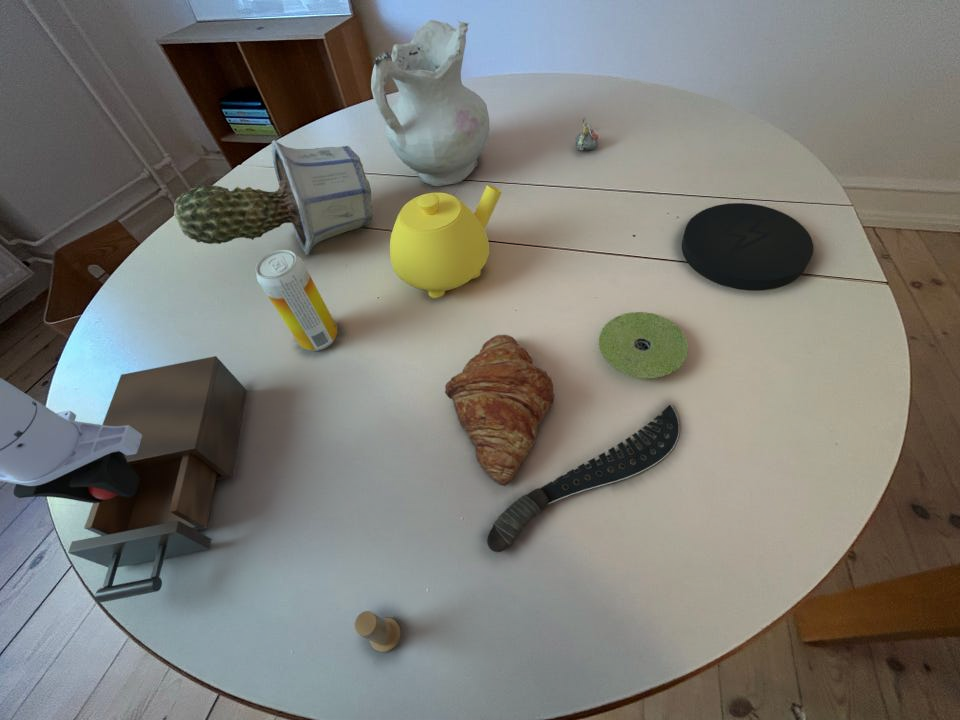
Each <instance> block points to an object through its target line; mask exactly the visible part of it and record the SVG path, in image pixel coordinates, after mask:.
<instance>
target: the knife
mask: <svg viewBox="0 0 960 720" xmlns="http://www.w3.org/2000/svg"><path fill="white" fill-rule="evenodd" d="M653 420H655V421H651V420H650V421H649V422H648V423H647V424H646V425H644V426H643V427H642V429H641V428H640V429H639V430H637V432H634V433H633V434H632V435H631V436H628V437H627V438H625V439H624V440H625V442H626V443H627V445H625V443H624V442H623V441H620V442H619V443H617V445H616V446H617V448H618V449H617V450H616V448H615V446H612V447H610V448H609V449H608V450H607V451H608V454H606V453H605V451H603V452H602V453H600V454H598V458H597V459H596V458H595V457H593V458H591V459H589V460H587V462H588V463H586V464H585V463H584V462H583V463H582V464H580V465H578V466H577V467H576V468H572V469H570V470H569V471H567V472H566V473H564V474H562V475H560V476H558V477H556V478H555V480H553V481H550V482H548V483H546V484H545V485H543V486H541V487H538V488H535V489H533V490H532V491H530V492H529V493H527V494H523V496H521V497H519V498H518V499H517V500H515V501H514V502H512V504H510V505H509V507H507V508H506V509H505V510H504V511H503V512H502V513H501V514H499V516H498V517H497V519H496V520H495V521H494V523H493V524H492V527H491V529H490V530H489V533H488V535H487V538H486V544H487V546H488V548H489V549H490V551H492V552H493V553H494V552H495V553H503V552H505V551H506V550H507V549H508V548H509V547H511V546H512V545H513V543H514V542H515V541H516V540H517V538H518V536H519V534H521V532H522V531H523V529H524V528H525V527H526V526H527V523H529V522H530V520H532V519H533V518H534V517H536V516H537V515H538V514H540V513H541V511H542V510H545V509H546V508H547V507H548V506H549V505H550V504H552V503H555V502H557V501H559V500H562V499H564V498H567V497H570V496H572V495H575V494H579V493H581V492H586V491H588V490H591V489H595V488H599V487H601V486H606V485H609V484H612V483H613V484H614V483H616V482H621V481H622V480H626V479H629V478H631V477H633V476H636V475H638V474H640V473H642V472H644V471H646V470H648V469H650V468H651V467H653V466H655V465H657V464H658V463H660V462H661V461H662V460H663V459H665V458H666V457H667V456H668V455H669V454H670V453H671V452H672V450H673V449H674V448H675V446H676V444H677V442H678V439H679V435H680V423H679V417H678V415H677V413H676V410H675V409H674V407H673V406H672V404H668V405H667V407H665V408H664V409H663V410H662V411H661V414H658V415H656V416H655V417H654V418H653ZM669 426H671V427H669ZM656 429H658V430H659V431H658V430H656ZM644 430H645V431H644ZM640 435H641V436H640ZM651 435H653V436H654V437H652V436H651ZM665 435H667V436H668V437H666V436H665ZM631 437H633V439H634V440H633V439H632V438H631ZM645 440H646V441H647V442H648V443H646V442H645ZM660 444H662V445H663V446H661V445H660ZM637 445H639V446H640V447H641V449H640V448H639V447H638V446H637ZM629 449H630V450H631V452H632V453H630V452H629ZM652 451H654V453H652ZM620 454H621V455H622V456H621V457H620V456H619V455H620ZM642 457H644V458H645V459H643V458H642ZM609 459H612V460H609ZM632 461H633V462H634V464H632ZM620 465H623V467H620ZM609 469H612V471H609ZM598 472H599V473H600V475H598V474H597V473H598ZM587 476H588V477H589V479H587V478H586V477H587ZM575 481H578V483H575ZM564 486H567V488H564Z"/></svg>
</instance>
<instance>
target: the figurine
mask: <svg viewBox="0 0 960 720" xmlns="http://www.w3.org/2000/svg"><path fill="white" fill-rule="evenodd" d="M582 124H583V125H582V126H583V128H582V132H580V133H578V134H577V135H576V136H575V146H576V147H577V150H578V151H585V150H587V151H589V150H592V151H593V150H595V149H596V148H597V146H598V141H599V134H598V133H596V132H597V130H595V129H594V128H593V127H592V126H590V125H589V122H588V121H587V118H586V117H584V118H583V119H582Z"/></svg>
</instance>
